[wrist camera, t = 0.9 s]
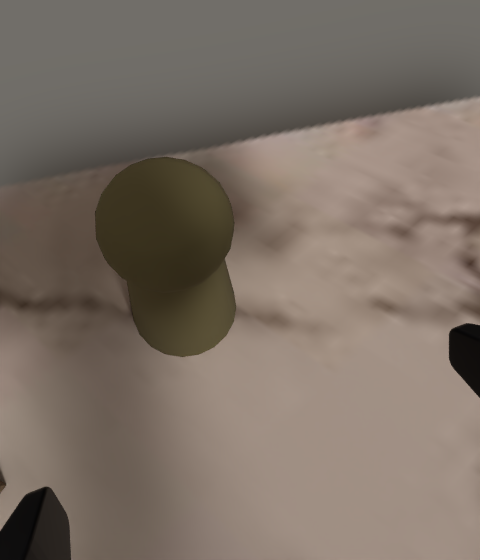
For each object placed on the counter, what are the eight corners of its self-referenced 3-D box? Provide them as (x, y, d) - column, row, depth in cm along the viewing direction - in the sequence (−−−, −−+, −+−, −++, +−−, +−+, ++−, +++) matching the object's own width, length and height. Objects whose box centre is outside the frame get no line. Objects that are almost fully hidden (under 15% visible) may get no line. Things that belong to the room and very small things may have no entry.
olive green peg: (168, 378, 23) (127, 315, 13) (113, 294, 24) (39, 179, 14) (256, 317, 24) (282, 218, 14) (198, 242, 26) (186, 106, 16)
